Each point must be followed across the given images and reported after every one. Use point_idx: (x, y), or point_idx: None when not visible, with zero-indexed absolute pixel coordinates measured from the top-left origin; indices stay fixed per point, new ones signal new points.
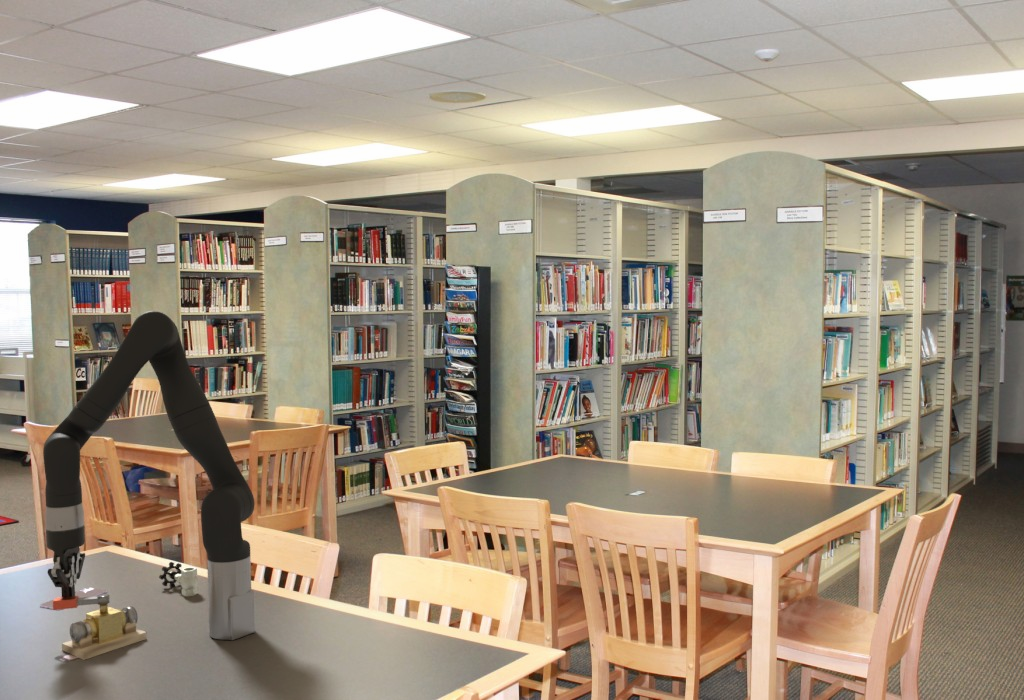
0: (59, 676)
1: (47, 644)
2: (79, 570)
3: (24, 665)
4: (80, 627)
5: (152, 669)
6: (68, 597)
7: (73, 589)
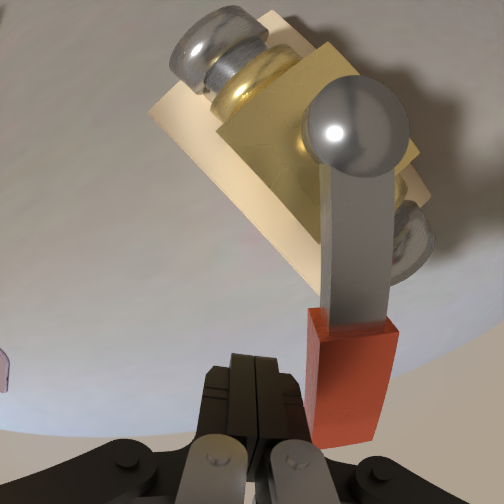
0: (493, 235)
1: (243, 346)
2: (89, 497)
3: (396, 349)
4: (430, 232)
5: (488, 25)
6: (333, 395)
7: (255, 413)
